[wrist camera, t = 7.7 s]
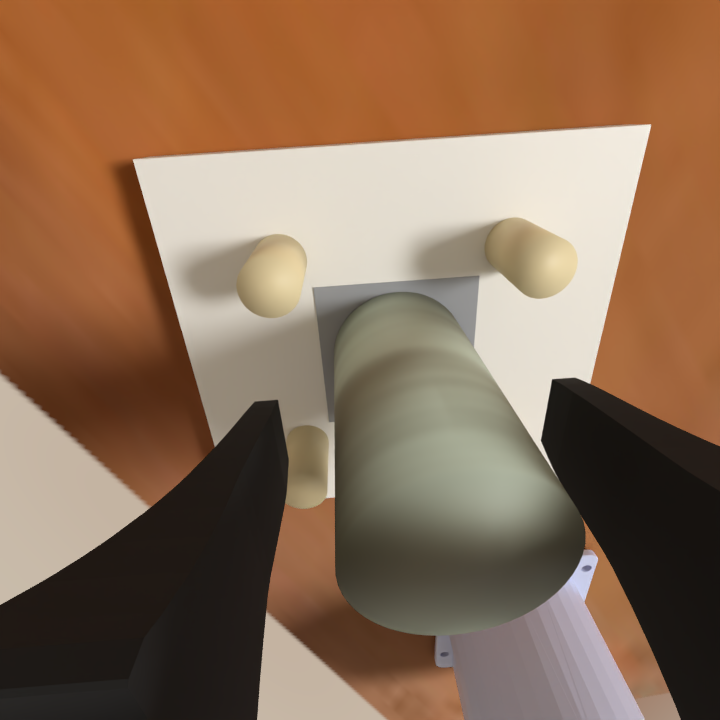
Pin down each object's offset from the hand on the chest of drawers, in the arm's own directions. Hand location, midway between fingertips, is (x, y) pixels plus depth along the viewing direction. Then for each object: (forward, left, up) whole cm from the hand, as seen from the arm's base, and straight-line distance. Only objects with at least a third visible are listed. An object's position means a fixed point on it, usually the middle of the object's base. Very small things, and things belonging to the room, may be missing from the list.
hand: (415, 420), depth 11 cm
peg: (0, 0, -4) cm, 4 cm away
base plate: (0, 0, -5) cm, 5 cm away
